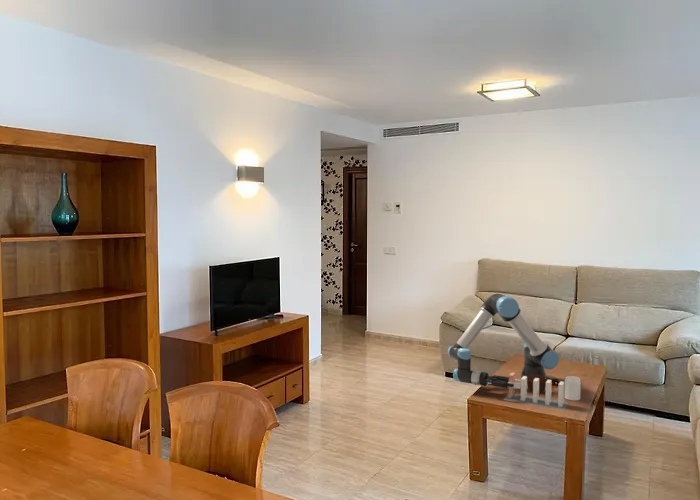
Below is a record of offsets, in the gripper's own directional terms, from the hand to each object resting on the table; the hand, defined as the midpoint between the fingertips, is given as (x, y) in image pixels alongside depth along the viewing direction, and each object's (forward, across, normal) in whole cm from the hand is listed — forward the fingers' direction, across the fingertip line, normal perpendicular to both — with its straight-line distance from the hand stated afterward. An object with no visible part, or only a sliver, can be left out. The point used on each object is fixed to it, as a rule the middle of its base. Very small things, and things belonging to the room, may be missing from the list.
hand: (521, 384), depth 304 cm
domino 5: (+21, 0, -8) cm, 22 cm away
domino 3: (+8, 0, -8) cm, 11 cm away
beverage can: (+24, -15, -9) cm, 30 cm away
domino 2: (+1, 0, -8) cm, 8 cm away
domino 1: (-5, 0, -7) cm, 9 cm away
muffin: (+4, -18, -9) cm, 21 cm away
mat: (+8, 0, -9) cm, 12 cm away
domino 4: (+14, 0, -8) cm, 16 cm away
